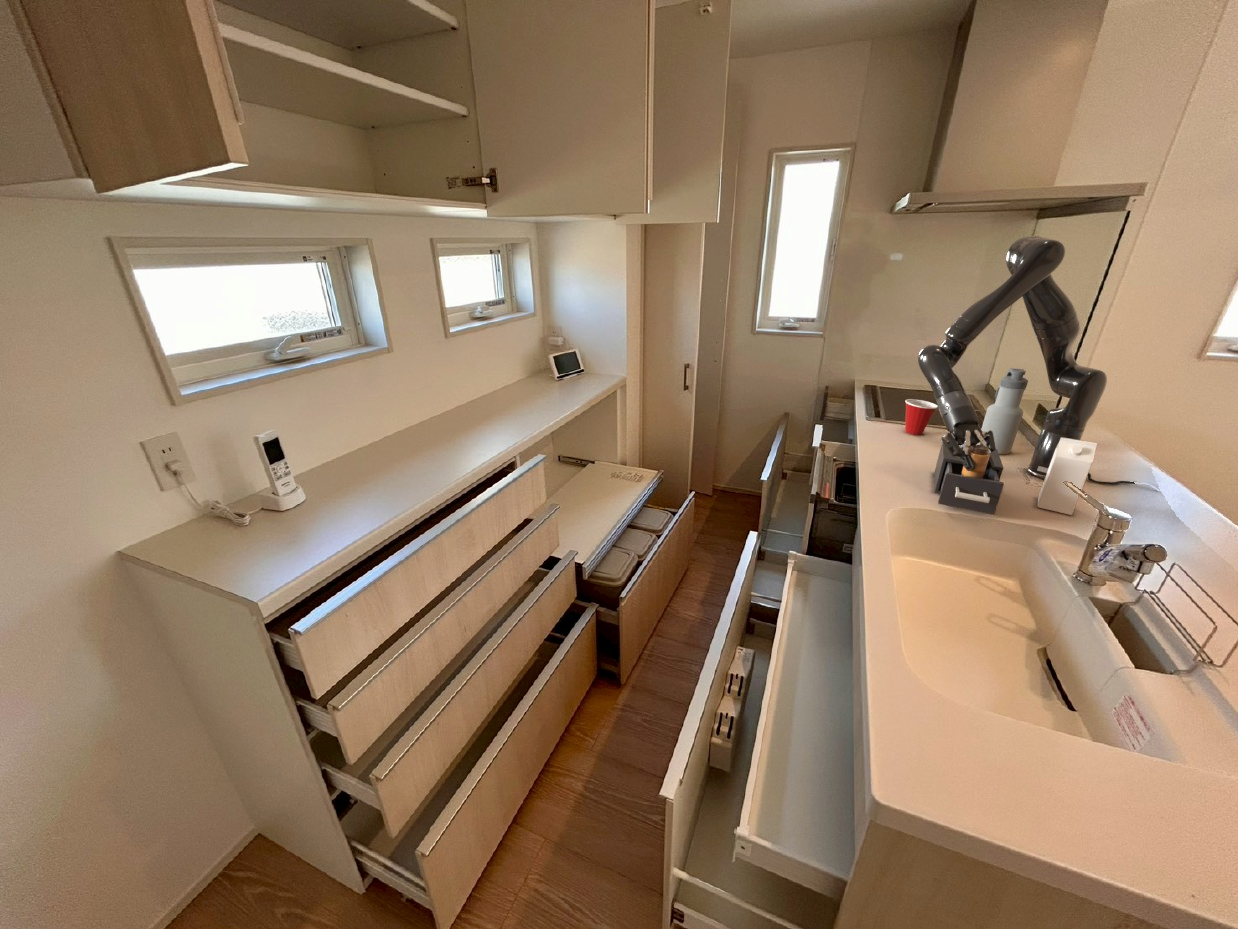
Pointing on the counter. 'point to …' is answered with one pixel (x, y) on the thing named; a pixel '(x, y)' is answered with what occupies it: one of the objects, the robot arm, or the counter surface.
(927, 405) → the plastic cup
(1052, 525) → the counter surface
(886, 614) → the counter surface
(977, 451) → the pepper mill
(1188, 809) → the counter surface
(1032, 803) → the counter surface
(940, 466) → the small drawer unit
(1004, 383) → the water bottle
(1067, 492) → the milk carton
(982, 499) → the drawer
